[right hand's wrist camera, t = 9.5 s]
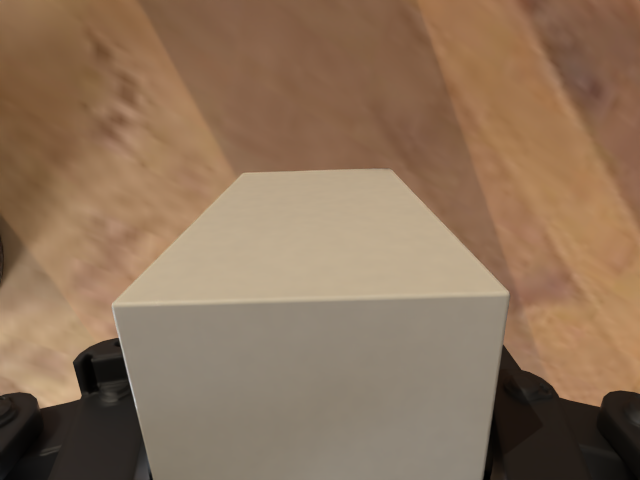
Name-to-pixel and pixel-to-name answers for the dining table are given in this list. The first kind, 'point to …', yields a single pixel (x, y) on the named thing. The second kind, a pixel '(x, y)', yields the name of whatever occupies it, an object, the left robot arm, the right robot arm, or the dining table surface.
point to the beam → (315, 337)
